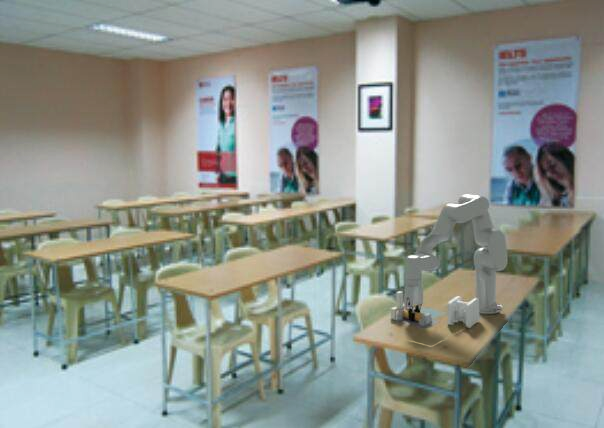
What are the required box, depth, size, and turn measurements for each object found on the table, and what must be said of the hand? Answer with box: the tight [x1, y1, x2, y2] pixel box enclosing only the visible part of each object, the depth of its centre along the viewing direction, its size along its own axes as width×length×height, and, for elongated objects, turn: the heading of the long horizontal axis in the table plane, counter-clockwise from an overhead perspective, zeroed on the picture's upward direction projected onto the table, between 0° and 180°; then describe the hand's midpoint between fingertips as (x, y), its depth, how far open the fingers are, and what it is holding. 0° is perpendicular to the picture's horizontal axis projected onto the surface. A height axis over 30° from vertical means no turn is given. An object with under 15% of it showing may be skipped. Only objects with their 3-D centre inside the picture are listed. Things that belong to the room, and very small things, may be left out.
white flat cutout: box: [390, 290, 405, 320], centre depth 248 cm, size 2×12×12 cm, turn 135°
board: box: [389, 314, 441, 329], centre depth 243 cm, size 20×13×3 cm, turn 45°
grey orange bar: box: [397, 308, 431, 325], centre depth 243 cm, size 15×4×4 cm, turn 45°
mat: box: [410, 306, 447, 320], centre depth 255 cm, size 18×12×1 cm, turn 45°
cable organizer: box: [445, 295, 480, 329], centre depth 237 cm, size 15×11×12 cm
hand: (414, 318), depth 243 cm, fingers closed on grey orange bar, 4 cm apart
